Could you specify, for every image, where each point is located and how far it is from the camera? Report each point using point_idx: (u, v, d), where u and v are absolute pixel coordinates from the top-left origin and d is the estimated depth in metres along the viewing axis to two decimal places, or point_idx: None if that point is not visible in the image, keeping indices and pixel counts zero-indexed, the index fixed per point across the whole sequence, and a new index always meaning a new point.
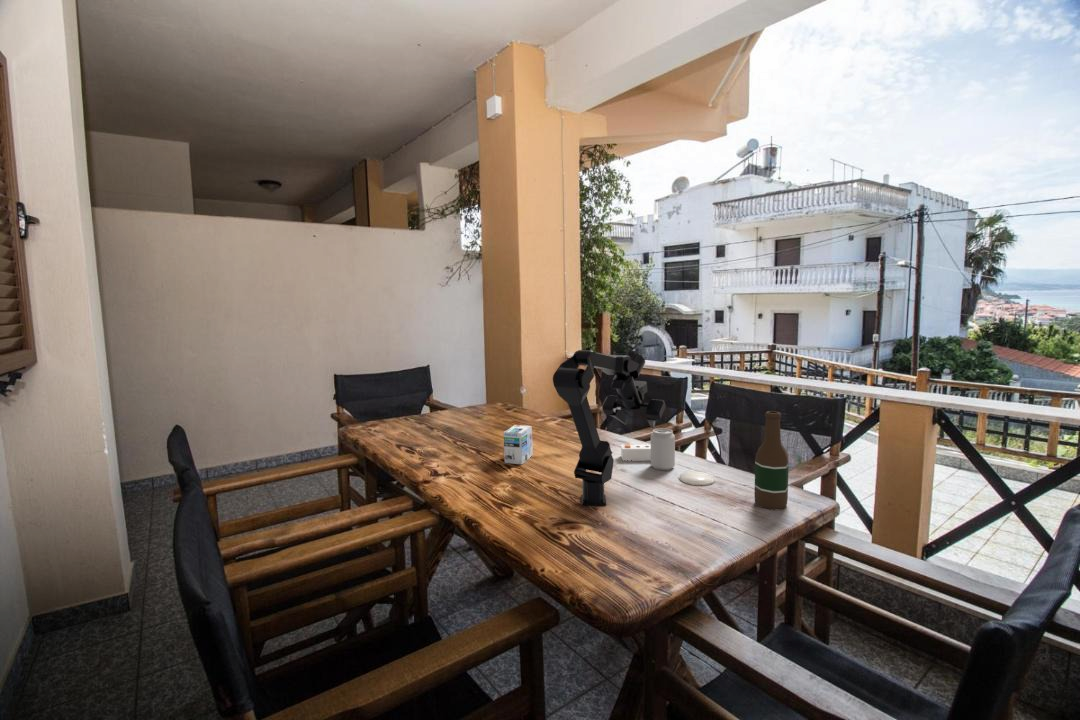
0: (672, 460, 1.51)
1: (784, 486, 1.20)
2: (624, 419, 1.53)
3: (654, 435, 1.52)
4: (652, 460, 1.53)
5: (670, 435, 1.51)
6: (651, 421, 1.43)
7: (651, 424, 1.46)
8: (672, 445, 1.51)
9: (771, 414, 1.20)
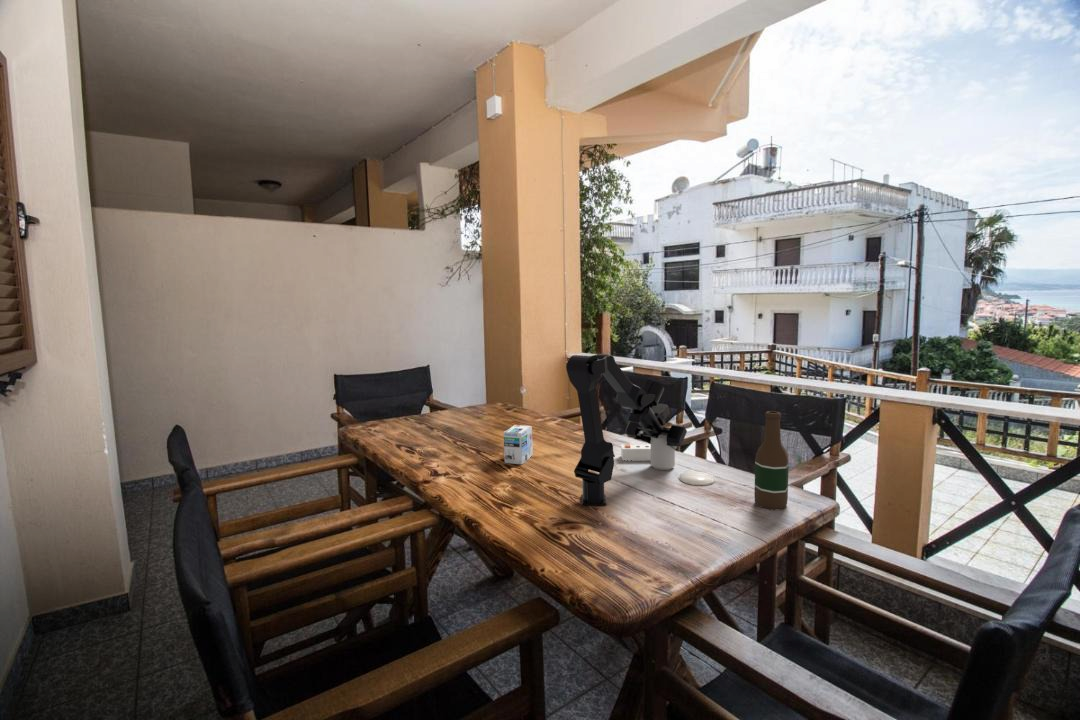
0: (672, 460, 1.51)
1: (784, 486, 1.20)
2: None
3: None
4: (652, 460, 1.53)
5: None
6: (671, 446, 1.46)
7: (672, 447, 1.49)
8: None
9: (771, 414, 1.20)
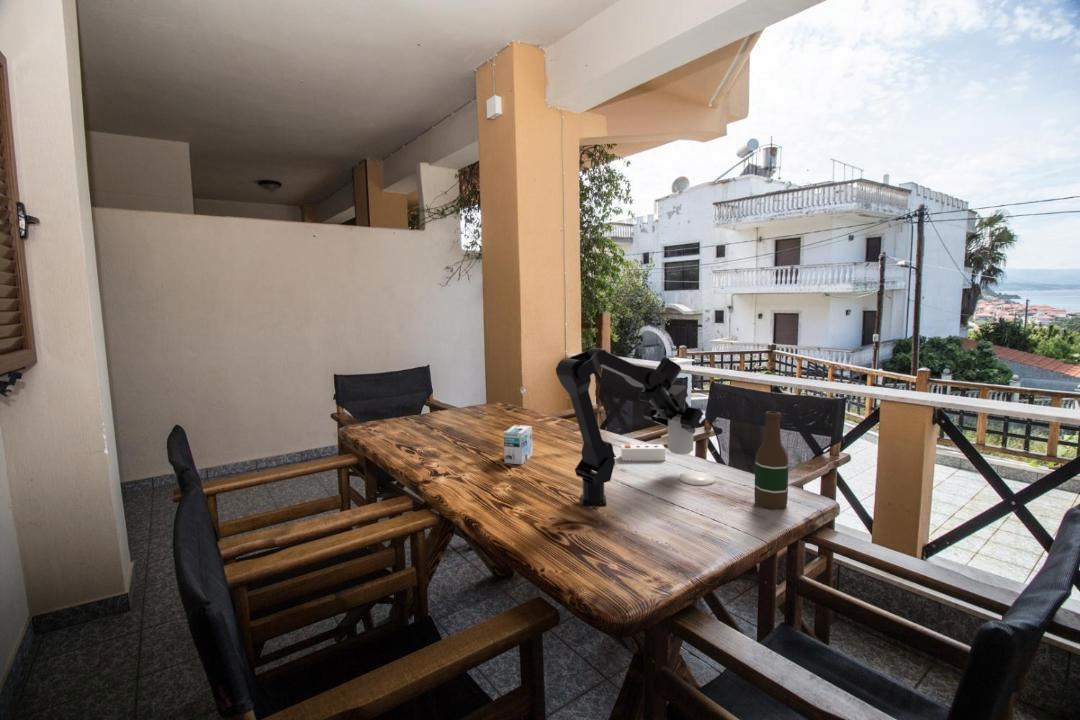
0: (689, 444, 1.45)
1: (784, 486, 1.20)
2: None
3: None
4: (668, 443, 1.47)
5: None
6: (686, 429, 1.40)
7: (688, 430, 1.42)
8: None
9: (771, 414, 1.20)
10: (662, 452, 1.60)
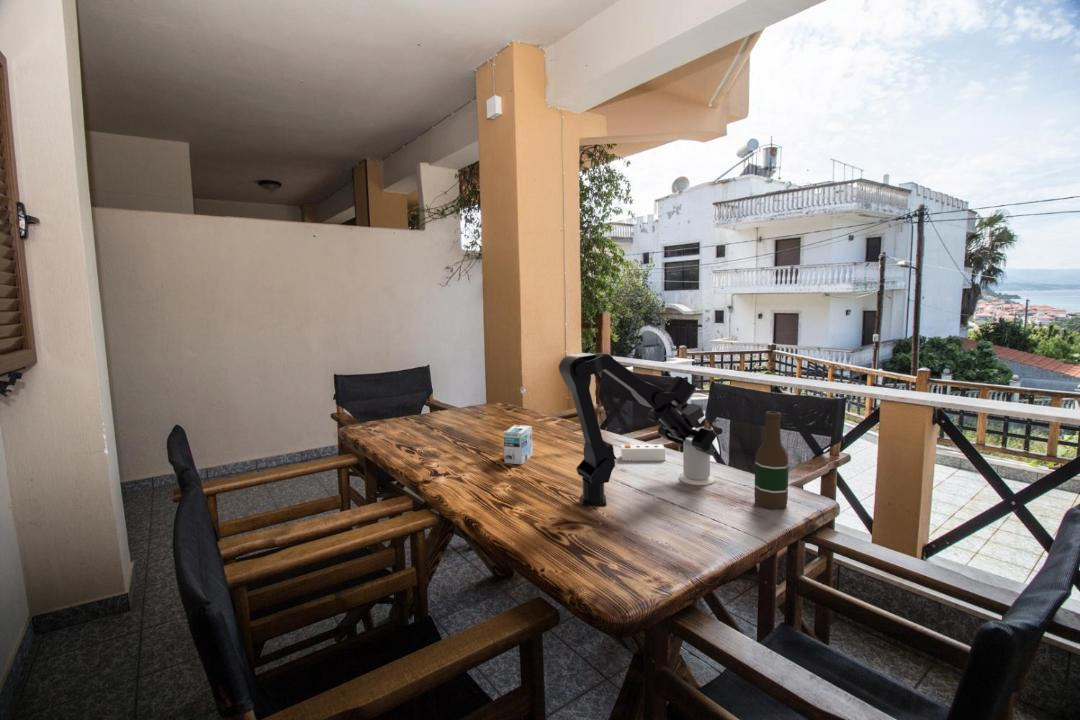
0: (704, 471, 1.39)
1: (784, 486, 1.20)
2: None
3: (685, 442, 1.41)
4: (683, 468, 1.43)
5: None
6: (701, 451, 1.34)
7: None
8: (704, 454, 1.38)
9: (771, 414, 1.20)
10: (662, 452, 1.60)
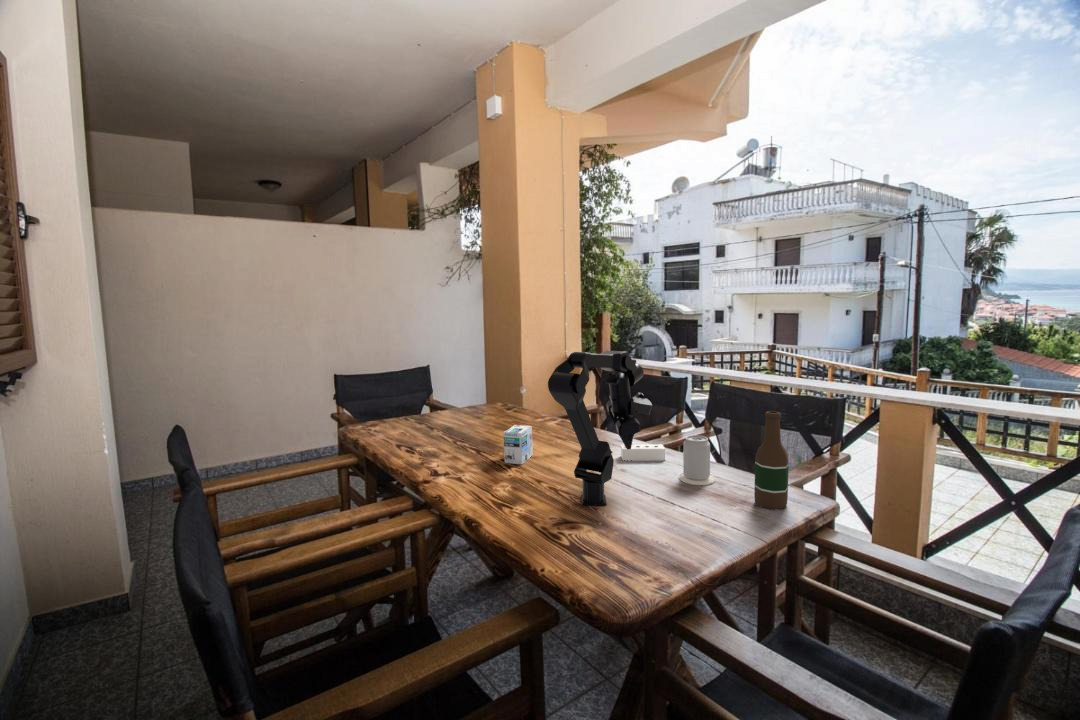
0: (704, 471, 1.39)
1: (784, 486, 1.20)
2: None
3: (685, 442, 1.41)
4: (683, 468, 1.43)
5: (702, 443, 1.39)
6: (619, 435, 1.36)
7: (622, 440, 1.37)
8: (704, 454, 1.38)
9: (771, 414, 1.20)
10: (662, 452, 1.60)
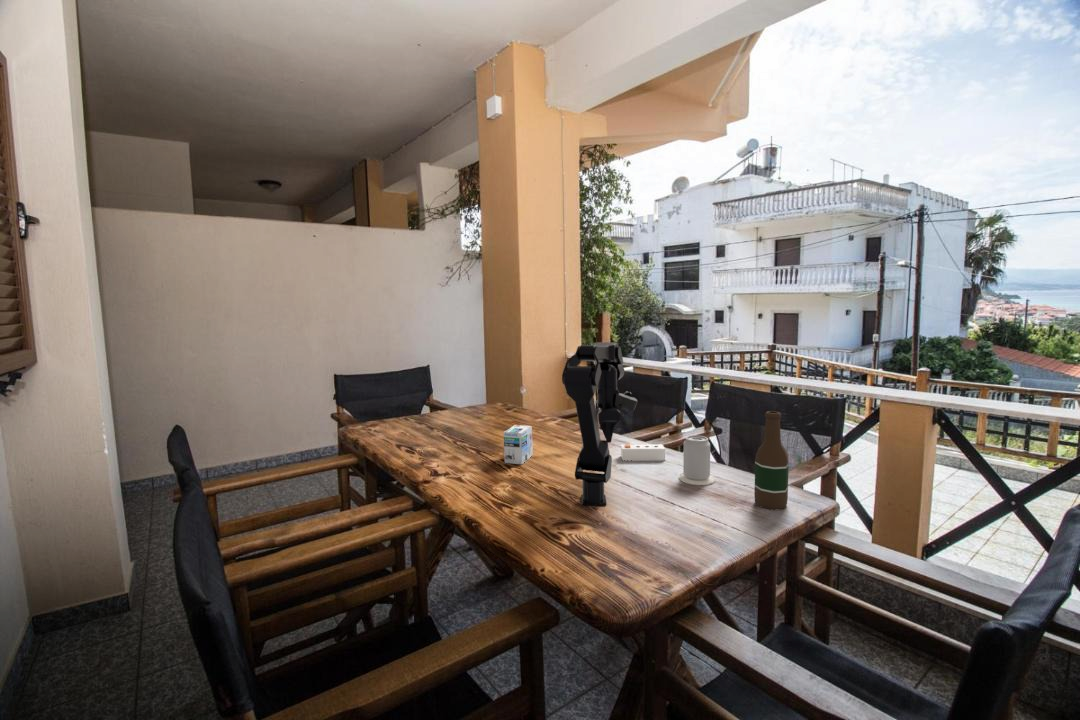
0: (704, 471, 1.39)
1: (784, 486, 1.20)
2: None
3: (686, 442, 1.41)
4: (683, 468, 1.43)
5: (703, 443, 1.39)
6: None
7: None
8: (705, 454, 1.38)
9: (771, 414, 1.20)
10: (662, 452, 1.60)
